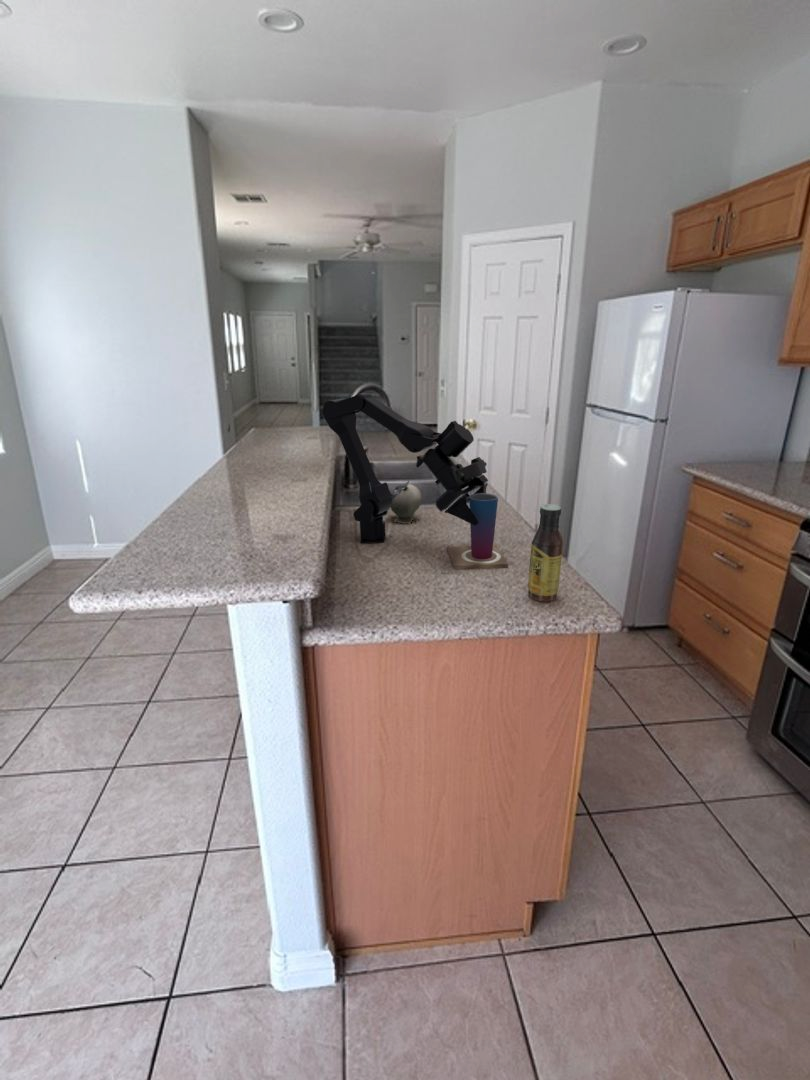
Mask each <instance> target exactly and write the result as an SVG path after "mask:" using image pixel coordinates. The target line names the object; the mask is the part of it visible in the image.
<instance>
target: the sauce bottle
mask: <svg viewBox="0 0 810 1080" xmlns="http://www.w3.org/2000/svg"><path fill="white" fill-rule="evenodd" d="M539 514H540V515H539V516H540V517H539V525H538V528H537V529H536V532H535V535H534V536H533V539H532V541H531V545H530V557H529V567H528V568H529V569H528V581H527V589H528V590H527V595H528V596H529V598H531V599H533V600H534V601H537V602H552V601H554V600H556V599H557V596H558V593H559V585H560V579H561V578H560V576H561V569H562V568H561V567H562V557H563V545H564V544H563V543H564V542H563V541H564V539H563V536H562V534H561V532H560V530H559V528H560V525H559V523H560V516H561V514H562V507H561V506H559V505H557V504H553V503H552V504H551V503H549V504H548V503H547V504H542V505H541V506H540V509H539Z"/></svg>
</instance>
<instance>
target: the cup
mask: <svg viewBox="0 0 810 1080" xmlns="http://www.w3.org/2000/svg"><path fill="white" fill-rule="evenodd" d="M468 498H469V500H468V501H469V508H470V510H471V511H472V513H473V514H474V516H475V517H476V519H477V521H478V524H477V525H476V526H475V525H472V524H470V523H469V524H470V525H469V526H470V546H471V555H472V557H474V558H476V559H488V558H491V557H492V550H493V545H494V540H495V529H496V522H497V511H498V502H499V496H498V495H497V494H494V493H487V492H486V493H477V494H472V495H470V496H469V497H468Z"/></svg>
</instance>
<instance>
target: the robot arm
mask: <svg viewBox="0 0 810 1080" xmlns="http://www.w3.org/2000/svg"><path fill="white" fill-rule="evenodd" d="M360 412H361V413H363V414H364V415H366V416H367V417H369V418H370V419H371V420H373V421H375V422H376V423H378V424H380V426H382V427H384V428H385V429H386V430H388V431H390V432H391V433H393V434H394V435H395V436H396V438H397V439H398V442H399V443H400V444H401V445H402V446H403V447H404V448H405V449H406V450H408V451H409V453H413V454H416V453H419V452H422V451H426V450H427V451H426V452H425V453H424V454H420V455H417V456H416V465H415V466H416V468H421V467H423V466H426V467H427V468H428V470H429V471H430V472H431V474H432V475H433V476H434V477H435V478H436V480H435V481H434V483H435V484H436V485H437V486H438V485H441V486H442V487H443V489H444V490H445V491H444V492H443V494H441V496H439V497H438V498H437V499H436V500H435V507H436V508H437V509H438V511H439V512H440V513H442V512H444V513H445V514H449V515H451V516H453V517H456V518H458V519H460V520H461V521H462V520H463V521H465V522H467V523H468V524H472V525H475V526H476V525H477V524H478V521H477V519H476V517H475V516H474V514H473V513H472V511H471V510H470V506H469V505H468V503H467V501H469V496H470V495H472V494H477V493H487V487H488V482H489V480H488V478H487V477H486V476H485V474H486V473H488V472H487V469H486V467H487V464H488V463H487V462H485V461H484V459H482V457H480V456H478V457H475V458H473V459H471V460H470V464H468V465H465V466H463V465H462V464H461V463H457V464H456V463H455V462H454V461H453V460H452V458H458V457H459V456H460V455H461V454H462V453H463V452H464V451H465V450H466V449H467V448H468V447H469V446H470V445H471V444H472V443H473V442H474V441H475V439H474V438H475V437H474V435H473V433H471V431H470V430H469V429H467V428H466V427H465V426H464V425H462V424H460V423H459V422H457V420H453V421H450V423H448V424H447V426H446V428H445V429H444V430H443V431H442V432H436V431H434V430H433V429H432V427H430V426H427V425H425V424H423V423H421V422H417V421H413V420H409V419H407V418H405V417H403V416H402V415H400V414H399V413H397V412H396V411H394V410H393V409H391V408H389V406H387V405H385V404H384V403H382V402H381V401H379V400H377V399H376V398H375V397H373V395H372V394H370V393H368V392H364V393H357V394H355V395H354V396H351V397H347V398H340V399H339V398H338V399H332V400H327V401H326V402H325V403H324V405H323V407H322V409H321V413H322V418H323V419H324V420H325V423H326V424H327V425H328V427H329V429H330V430H332V431H333V432H334V433H335V434H336V436H338V438H339V440H340V442H341V443H340V444H341V445H342V448H343V450H344V452H345V454H346V457H347V458H348V461H349V464H350V466H351V469H352V471H353V474H354V476H355V478H356V481H357V483H358V486H359V491H358V499H359V502H360V506H359V507H358V508H357V509H356V510H355V511H354V512H353V517H354V520H355V521H356V522H359V543H360V544H369V543H371V544H372V543H384V542H385V539H386V521H384V518H383V517H384V516H387V514H388V512H389V510H390V509H391V508H390V507H391V504H392V498H391V496H393V495H392V494H391V493H392V492H391V491H390V488H389V485H388V483H387V482H386V481H385V482H383V483H381V481H379V480H378V478H377V477H376V475H375V472H374V469H373V467H372V465H371V462H370V459H369V458H368V456H367V453H366V451H365V448H364V446H363V444H362V443H363V442H362V441H361V438H360V436H359V434H358V431H357V414H358V413H360ZM435 445H436V446H435ZM433 446H434V448H432V447H433Z"/></svg>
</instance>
